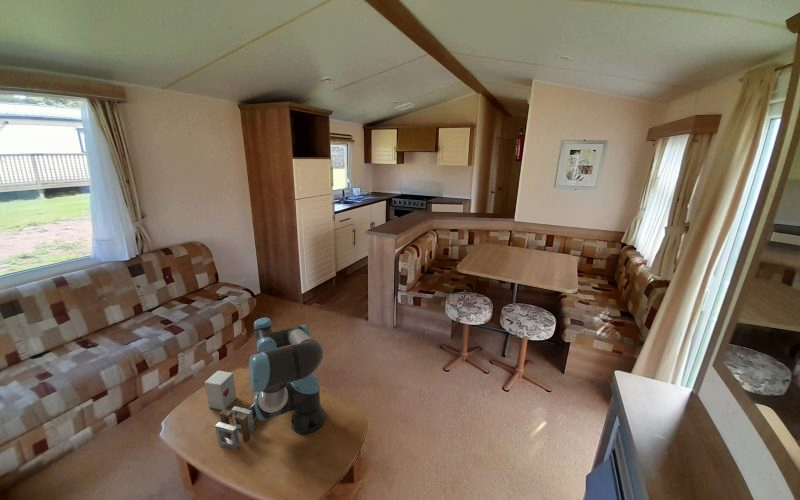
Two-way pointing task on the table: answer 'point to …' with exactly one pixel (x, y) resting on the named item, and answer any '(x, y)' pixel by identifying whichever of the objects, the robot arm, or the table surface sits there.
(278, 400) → the robot arm
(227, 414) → the aperture bridge
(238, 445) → the collar
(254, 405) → the tube
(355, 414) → the table surface
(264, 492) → the table surface
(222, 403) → the supplement box
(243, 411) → the collar
